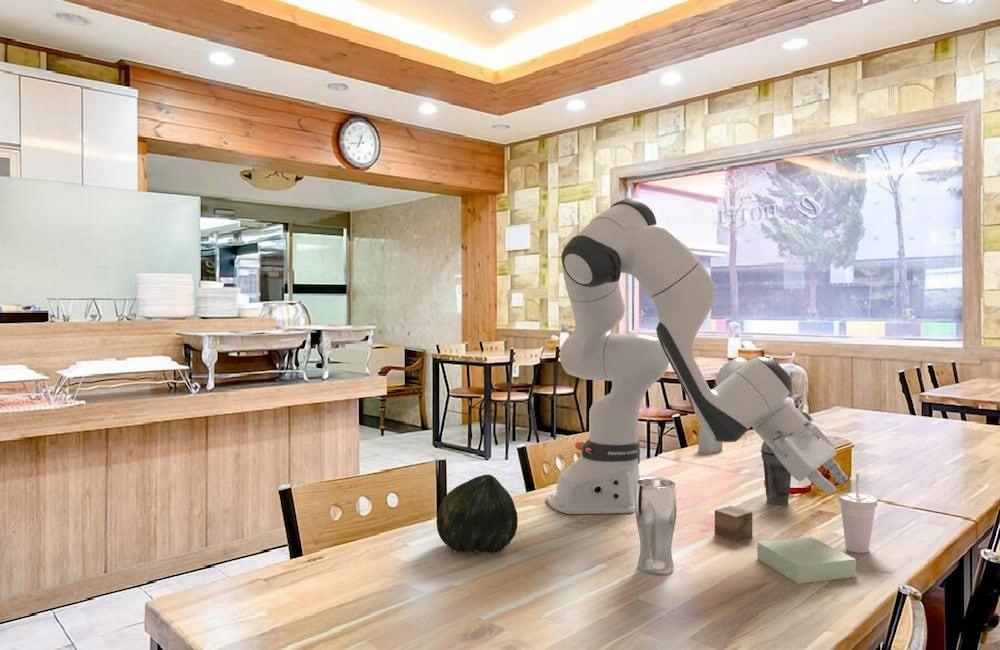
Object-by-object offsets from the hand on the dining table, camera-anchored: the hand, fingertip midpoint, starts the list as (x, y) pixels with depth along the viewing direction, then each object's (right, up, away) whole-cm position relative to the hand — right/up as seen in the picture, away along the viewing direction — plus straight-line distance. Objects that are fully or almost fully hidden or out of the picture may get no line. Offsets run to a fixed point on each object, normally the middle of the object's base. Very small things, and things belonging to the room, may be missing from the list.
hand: (838, 486), depth 123 cm
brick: (-17, -11, +7) cm, 22 cm away
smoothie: (+3, -12, -1) cm, 12 cm away
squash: (-67, -12, +2) cm, 68 cm away
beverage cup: (0, -11, +28) cm, 30 cm away
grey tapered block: (+2, -9, +81) cm, 82 cm away
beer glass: (-36, -12, -9) cm, 39 cm away
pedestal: (-10, -12, -9) cm, 18 cm away
